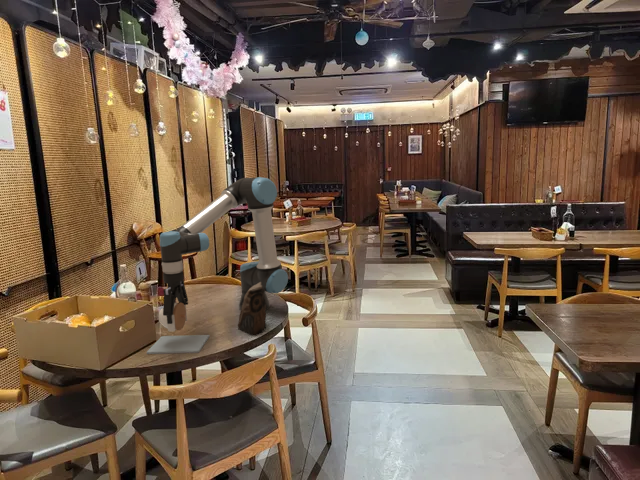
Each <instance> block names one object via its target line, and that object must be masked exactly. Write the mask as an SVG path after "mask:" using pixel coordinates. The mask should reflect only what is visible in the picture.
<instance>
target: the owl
mask: <svg viewBox="0 0 640 480" xmlns="http://www.w3.org/2000/svg"><path fill="white" fill-rule="evenodd" d="M264 292H266V291H265V290H264V288H263V286H262V283H261V282H259V283H258V284H256V285H254V286H252V287H251V288H250V289H249V290H248V291H247V293H246V295H245V297H244V301H243V304H242V308H241V310H240V313H239V316H238V323H237V330H238V331H241V332H243V333H245V334H248V335H249V336H258V335H260V334H262V333H264V332H263V331H265V329H267V327H266V325H267V323H266V319H267V318H266V317H267V312H266V310H267V309H266V305H265V299H264Z"/></svg>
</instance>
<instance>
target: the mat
mask: <svg viewBox="0 0 640 480" xmlns="http://www.w3.org/2000/svg"><path fill="white" fill-rule="evenodd" d="M209 338H210V334H195V335H194V334H193V335H191V334H189V335H162V336H160V337H159V339H158V340H156V342H154V343H153V345H152V346H151V347H150V348H149V349H148V350H147V351H146V355H159V354H160V355H162V354H194V353H195V354H197V353H200V351H201V350H202V349H203V347H204V346H205V344H206V343H207V341H208V340H209Z"/></svg>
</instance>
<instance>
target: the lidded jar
mask: <svg viewBox="0 0 640 480" xmlns="http://www.w3.org/2000/svg"><path fill="white" fill-rule="evenodd" d="M186 313H187V308H186V309H185V306H184V304H183V303H179V302H175V303H174V309H173V315H174V320H175V331H181V330H182V329H183V328H184V327H185V325H186V322H187V321H186ZM158 322H159V323H160V325H162V326H163V327H164V328H165V329H167V330H168V327H167V316H164V315H163V307H162V308H160V310H159V312H158Z"/></svg>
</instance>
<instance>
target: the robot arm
mask: <svg viewBox="0 0 640 480" xmlns="http://www.w3.org/2000/svg"><path fill="white" fill-rule="evenodd" d="M275 184H276V183H274V182H273V180H271V179H270V178H267V177H262V176H260V177H242V178H240V179H238V180H236V181H235V182H233V183H232V184H230V185H229V186H227V187H226V188H224V189H223V190H222V191H221V194H220V195H219V196H218V197H217V198H216V199H214V200H212V202H210V203H209V204H208V205H206V206H205V207H204V208H203V209H202V210H200V211H199V212H198V213H196V214H195V215H193V216H192V217H191V218H189V220H187V221H186V222H184V223H183V224H182V225H181V226H179V227H178V228H177V229H176V230H170V231H165V232H161V233H160V235H159V247H160V257H161V268H162V272H163V274H162V278H163V279H162V280H163V282H164V284H167V286H166V287H167V288H164V289H163V306H162V308H163V315H164V316H167V327H168V329H167V332H176V330H175V320H174V315H173V309H174V303H176V299H177V301H178V303H183V304H184V306H185V309H186V310H187V305H189V298H188V295H187V290H186V286H185V277H184V276H185V275H184V271H183V270H184V264H183V255H188V254H194V253H201V252H204V251H208V250H209V247H210V238H209V236H208V235H207V233H205V232H204V231H206V229H208V228H209V227H210V226H211V225H213V224H214V223H216V221H218V220H219V219H220V218H221V217H223V216H224V215H225V214H226V213H228V212H229V211H230V210H231V209H236V208H237V207H238V206H240V205H243V204H247V209H248V211H250V212H251V214H252V221H253V227H254V228H253V229H254V234H255V242H256V243H255V244H256V249H257V255H258V256H257V257H258V261H251V262H250V261H249V262H244V263H241V265H240V266H239V267H240V270H239V275H240V286H241V288H240V290H241V295H240V299H239V304H238V309H239V311H241V308H242V304H243V301H244V297H245V295H246V293H247V291H248V290H249V289H250V288H251V287H252V286H254V285H256V284H258V283H259V282H261V283H262V286H263V288H264V290H265V292H264V299H265V305H266V310H268V309H269V308H270V300H269V297H268V295H267V293H269V294H279V293H281V292H283V290H285V288H286V286H288V285H287V284H288V281H289V275H288V273H287V271H286V270H285V269H283V268H282V262H281V261H280V260H279V259H278V254H277V247H276V239H275V234H274V233H275V232H274V225H273V217H272V209H273V208H274V202H275V201H276V198H277V197H278V190H277V189H278V188H277V187H276V185H275ZM187 321H188V315H187V312H186V321H185V322H187Z"/></svg>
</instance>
